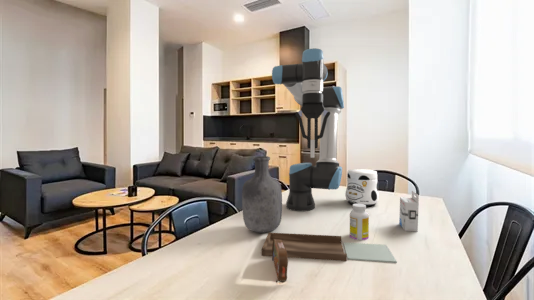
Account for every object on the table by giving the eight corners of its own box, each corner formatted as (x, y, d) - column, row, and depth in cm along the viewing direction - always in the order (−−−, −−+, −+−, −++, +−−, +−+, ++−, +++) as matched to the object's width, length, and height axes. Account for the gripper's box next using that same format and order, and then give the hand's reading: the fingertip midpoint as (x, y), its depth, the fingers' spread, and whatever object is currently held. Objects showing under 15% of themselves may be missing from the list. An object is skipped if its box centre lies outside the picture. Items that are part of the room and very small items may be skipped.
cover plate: (343, 247, 95) (343, 242, 95) (386, 250, 93) (386, 244, 92) (347, 264, 83) (347, 258, 83) (396, 267, 81) (396, 261, 81)
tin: (271, 261, 85) (271, 234, 84) (281, 260, 85) (281, 234, 85) (277, 288, 70) (276, 256, 69) (289, 287, 70) (289, 256, 70)
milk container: (345, 206, 144) (345, 173, 143) (345, 198, 160) (345, 168, 159) (380, 209, 139) (381, 174, 138) (377, 200, 155) (377, 169, 154)
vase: (287, 226, 115) (287, 155, 113) (272, 240, 100) (271, 159, 98) (254, 221, 121) (253, 154, 119) (235, 234, 107) (233, 158, 105)
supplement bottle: (368, 236, 103) (368, 203, 102) (368, 243, 97) (369, 208, 96) (349, 234, 105) (350, 202, 104) (349, 241, 99) (349, 206, 98)
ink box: (398, 223, 117) (399, 189, 116) (411, 224, 116) (412, 190, 115) (404, 231, 109) (405, 194, 108) (418, 231, 108) (419, 195, 107)
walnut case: (268, 240, 101) (268, 232, 100) (341, 244, 97) (341, 236, 96) (261, 258, 86) (261, 249, 86) (346, 264, 82) (346, 254, 82)
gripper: (294, 92, 97) (294, 158, 99) (331, 91, 95) (331, 158, 97) (295, 95, 105) (295, 156, 106) (330, 94, 103) (329, 156, 104)
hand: (312, 157), depth 102 cm, fingers closed
